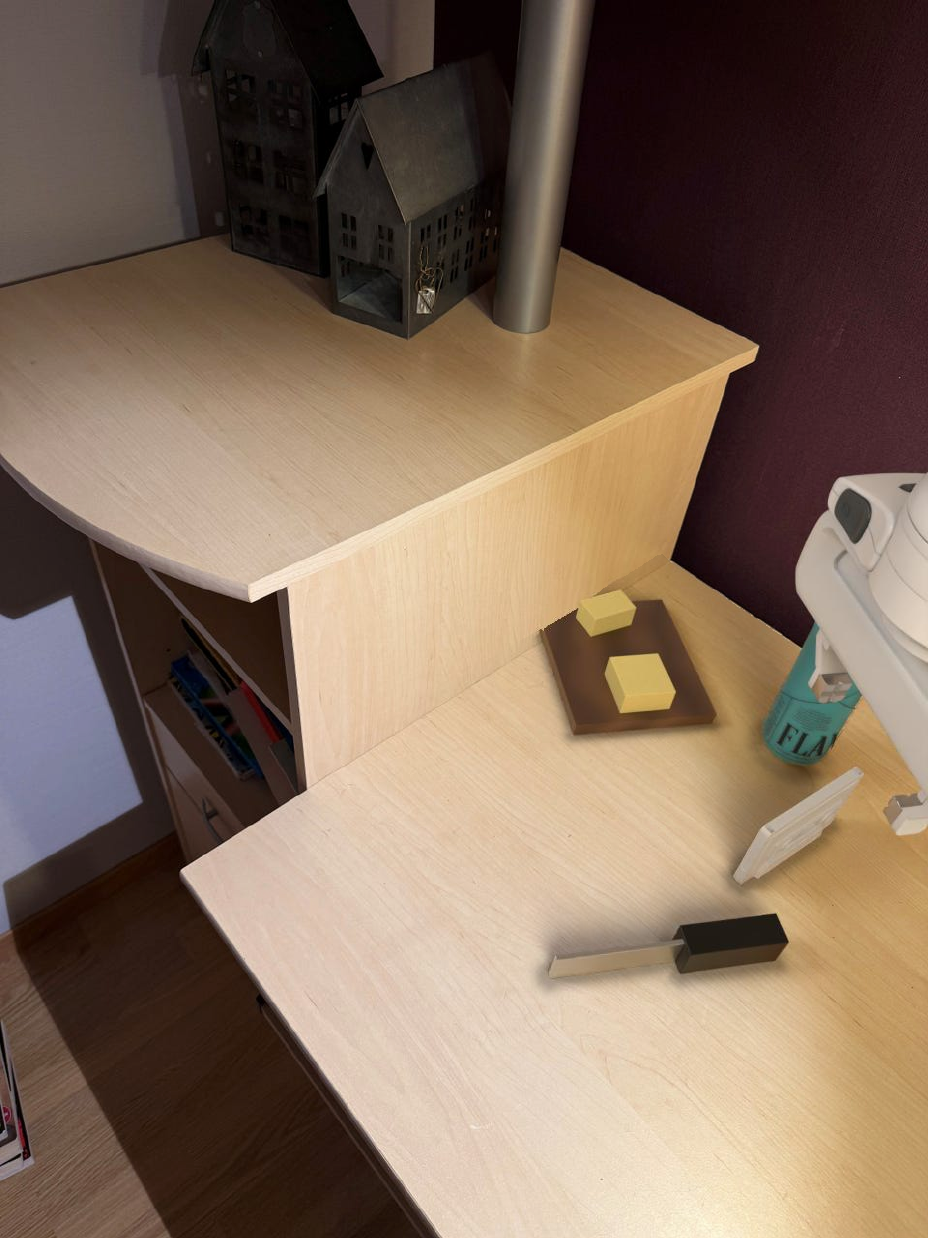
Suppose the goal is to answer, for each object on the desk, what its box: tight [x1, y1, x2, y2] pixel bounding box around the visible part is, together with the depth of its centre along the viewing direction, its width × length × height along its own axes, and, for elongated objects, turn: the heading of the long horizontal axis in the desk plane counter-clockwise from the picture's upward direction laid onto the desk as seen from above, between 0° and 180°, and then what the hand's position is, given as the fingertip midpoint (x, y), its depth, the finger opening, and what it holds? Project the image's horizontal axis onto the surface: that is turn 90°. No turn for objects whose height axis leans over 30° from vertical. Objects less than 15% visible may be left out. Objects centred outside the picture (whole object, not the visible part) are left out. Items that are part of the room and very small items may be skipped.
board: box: [538, 599, 717, 736], centre depth 91 cm, size 14×16×2 cm
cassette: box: [732, 765, 865, 886], centre depth 75 cm, size 12×2×8 cm, turn 124°
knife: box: [548, 912, 790, 979], centre depth 68 cm, size 18×2×3 cm, turn 100°
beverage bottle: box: [761, 621, 863, 767], centre depth 79 cm, size 6×7×20 cm
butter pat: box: [576, 588, 636, 637], centre depth 93 cm, size 5×3×2 cm, turn 116°
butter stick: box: [605, 653, 676, 713], centre depth 87 cm, size 5×5×2 cm
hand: (859, 755), depth 53 cm, fingers open, 8 cm apart
